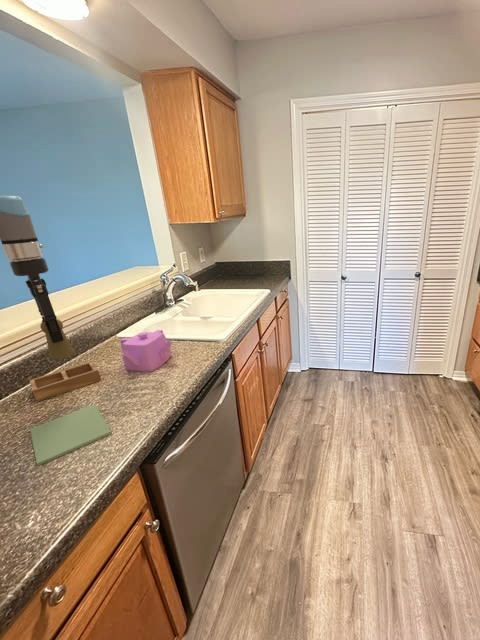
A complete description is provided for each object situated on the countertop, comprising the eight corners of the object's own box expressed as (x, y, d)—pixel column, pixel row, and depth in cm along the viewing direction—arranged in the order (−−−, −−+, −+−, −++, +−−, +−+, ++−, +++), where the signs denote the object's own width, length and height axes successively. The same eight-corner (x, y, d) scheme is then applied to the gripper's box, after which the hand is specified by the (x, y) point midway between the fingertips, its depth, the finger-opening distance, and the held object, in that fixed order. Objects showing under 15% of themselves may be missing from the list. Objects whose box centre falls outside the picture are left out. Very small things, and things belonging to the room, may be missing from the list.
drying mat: (30, 430, 89) (29, 428, 88) (96, 406, 98) (95, 403, 98) (37, 466, 76) (36, 463, 76) (111, 433, 86) (111, 431, 86)
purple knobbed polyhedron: (167, 349, 135) (160, 321, 130) (178, 364, 122) (171, 334, 117) (122, 361, 126) (113, 332, 121) (128, 379, 113) (119, 347, 108)
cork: (60, 360, 94) (46, 324, 89) (45, 358, 95) (31, 323, 91) (79, 351, 99) (67, 317, 95) (64, 349, 101) (52, 316, 96)
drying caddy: (33, 390, 109) (29, 380, 108) (94, 370, 120) (91, 361, 119) (36, 401, 102) (32, 391, 101) (101, 380, 113) (98, 370, 112)
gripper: (49, 259, 82) (77, 343, 91) (39, 254, 95) (65, 327, 104) (11, 264, 78) (45, 351, 87) (6, 258, 90) (36, 334, 99)
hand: (56, 338), depth 95 cm, fingers closed on cork, 5 cm apart
